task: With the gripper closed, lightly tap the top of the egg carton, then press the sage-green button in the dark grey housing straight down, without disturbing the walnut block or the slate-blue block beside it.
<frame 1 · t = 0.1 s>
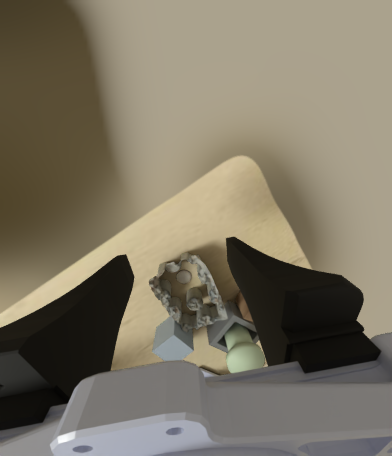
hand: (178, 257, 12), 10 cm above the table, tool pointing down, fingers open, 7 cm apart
green button: (240, 346, 23), point 4 cm above the table, slide at 0.0 cm
slate-blue block: (174, 326, 27), on the table
walnut block: (251, 292, 26), on the table
button housing: (232, 321, 27), on the table
egg carton: (189, 283, 25), on the table
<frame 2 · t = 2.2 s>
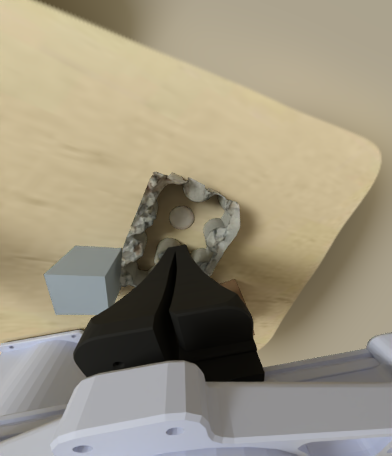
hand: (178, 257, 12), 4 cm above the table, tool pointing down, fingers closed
slate-blue block: (101, 264, 16), on the table
egg carton: (177, 232, 16), on the table
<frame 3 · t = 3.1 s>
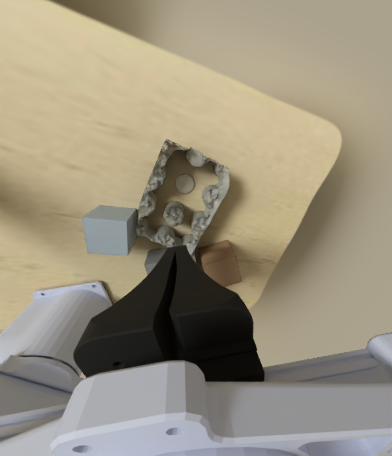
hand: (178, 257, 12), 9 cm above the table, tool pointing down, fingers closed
slate-blue block: (119, 222, 20), on the table
walnut block: (216, 255, 24), on the table
button housing: (175, 265, 24), on the table
egg carton: (181, 197, 20), on the table
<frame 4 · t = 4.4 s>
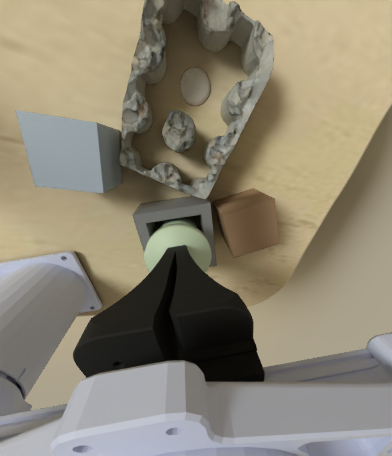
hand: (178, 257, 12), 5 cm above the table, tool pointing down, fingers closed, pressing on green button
green button: (178, 243, 14), point 3 cm above the table, slide at -1.2 cm, touching gripper
slate-blue block: (95, 155, 13), on the table
walnut block: (236, 213, 17), on the table
button housing: (178, 227, 17), on the table
egg carton: (188, 114, 13), on the table
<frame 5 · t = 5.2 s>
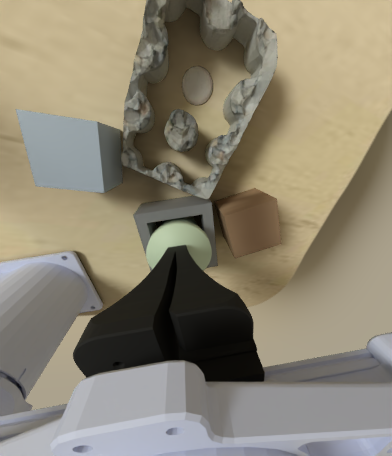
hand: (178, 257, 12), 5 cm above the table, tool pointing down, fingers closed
green button: (179, 240, 14), point 3 cm above the table, slide at -1.6 cm
slate-blue block: (95, 154, 13), on the table
walnut block: (238, 213, 17), on the table
button housing: (179, 227, 17), on the table
egg carton: (190, 114, 13), on the table
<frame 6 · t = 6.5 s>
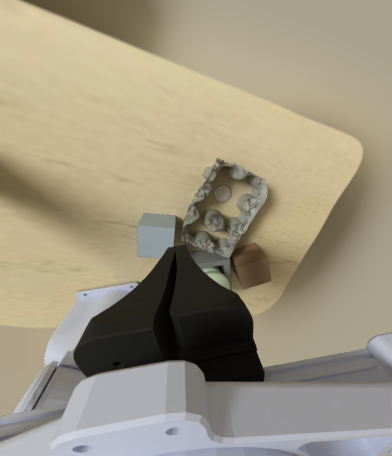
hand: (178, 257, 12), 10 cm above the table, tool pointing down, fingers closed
green button: (208, 278, 23), point 3 cm above the table, slide at -1.6 cm
slate-blue block: (159, 228, 22), on the table
walnut block: (244, 257, 26), on the table
button housing: (206, 266, 26), on the table
egg carton: (217, 205, 22), on the table
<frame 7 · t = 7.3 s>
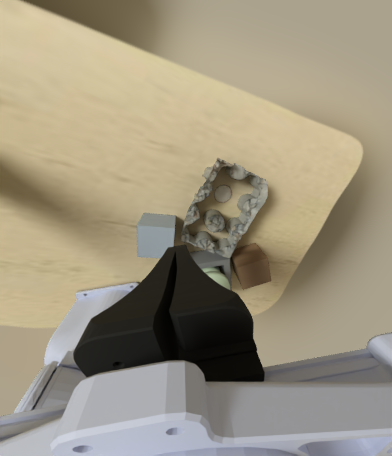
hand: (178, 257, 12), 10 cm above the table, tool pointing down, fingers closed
green button: (208, 278, 23), point 3 cm above the table, slide at -1.6 cm
slate-blue block: (159, 228, 22), on the table
walnut block: (244, 257, 26), on the table
button housing: (206, 266, 26), on the table
egg carton: (217, 205, 22), on the table
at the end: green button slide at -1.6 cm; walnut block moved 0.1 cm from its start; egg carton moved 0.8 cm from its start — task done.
